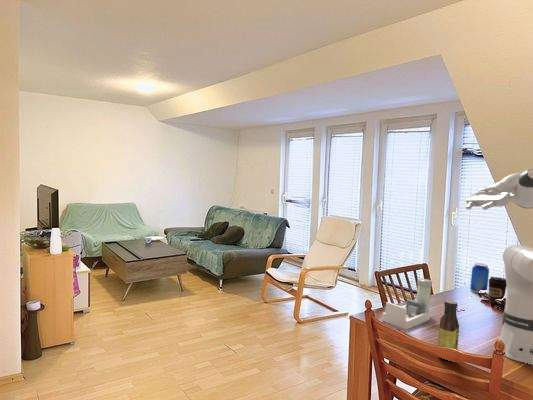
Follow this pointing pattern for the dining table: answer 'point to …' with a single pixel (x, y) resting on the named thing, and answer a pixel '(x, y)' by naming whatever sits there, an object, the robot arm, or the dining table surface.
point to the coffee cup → (496, 288)
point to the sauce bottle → (449, 326)
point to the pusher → (415, 307)
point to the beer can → (479, 277)
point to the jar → (424, 292)
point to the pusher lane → (403, 316)
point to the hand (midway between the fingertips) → (475, 208)
